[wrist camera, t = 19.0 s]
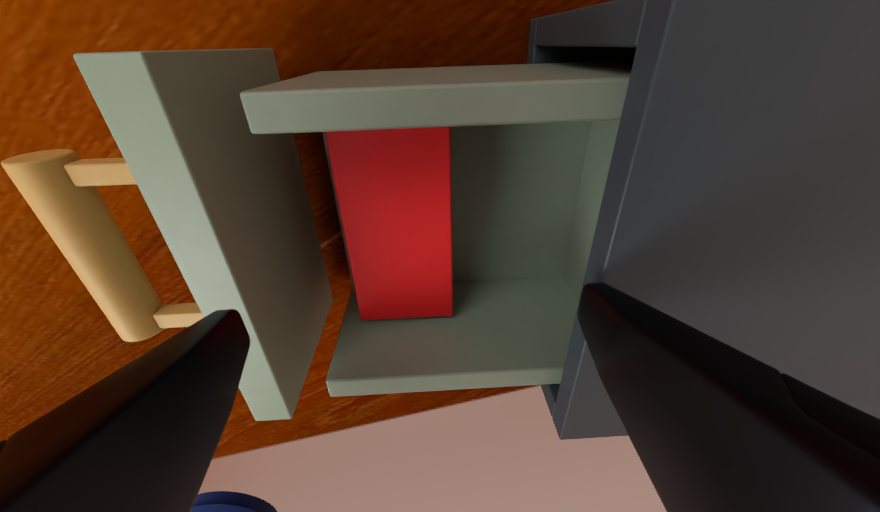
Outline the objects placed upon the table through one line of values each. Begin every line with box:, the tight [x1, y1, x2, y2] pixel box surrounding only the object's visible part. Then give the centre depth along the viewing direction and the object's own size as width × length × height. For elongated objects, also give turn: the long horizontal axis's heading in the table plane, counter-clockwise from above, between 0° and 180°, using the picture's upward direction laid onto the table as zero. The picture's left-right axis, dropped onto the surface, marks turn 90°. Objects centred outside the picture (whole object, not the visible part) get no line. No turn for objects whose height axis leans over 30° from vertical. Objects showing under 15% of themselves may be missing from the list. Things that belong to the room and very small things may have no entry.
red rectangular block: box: [324, 127, 453, 320], centre depth 12 cm, size 7×3×3 cm, turn 2°
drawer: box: [1, 48, 633, 421], centre depth 11 cm, size 17×10×6 cm, turn 92°
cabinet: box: [527, 0, 880, 440], centre depth 12 cm, size 14×12×8 cm
